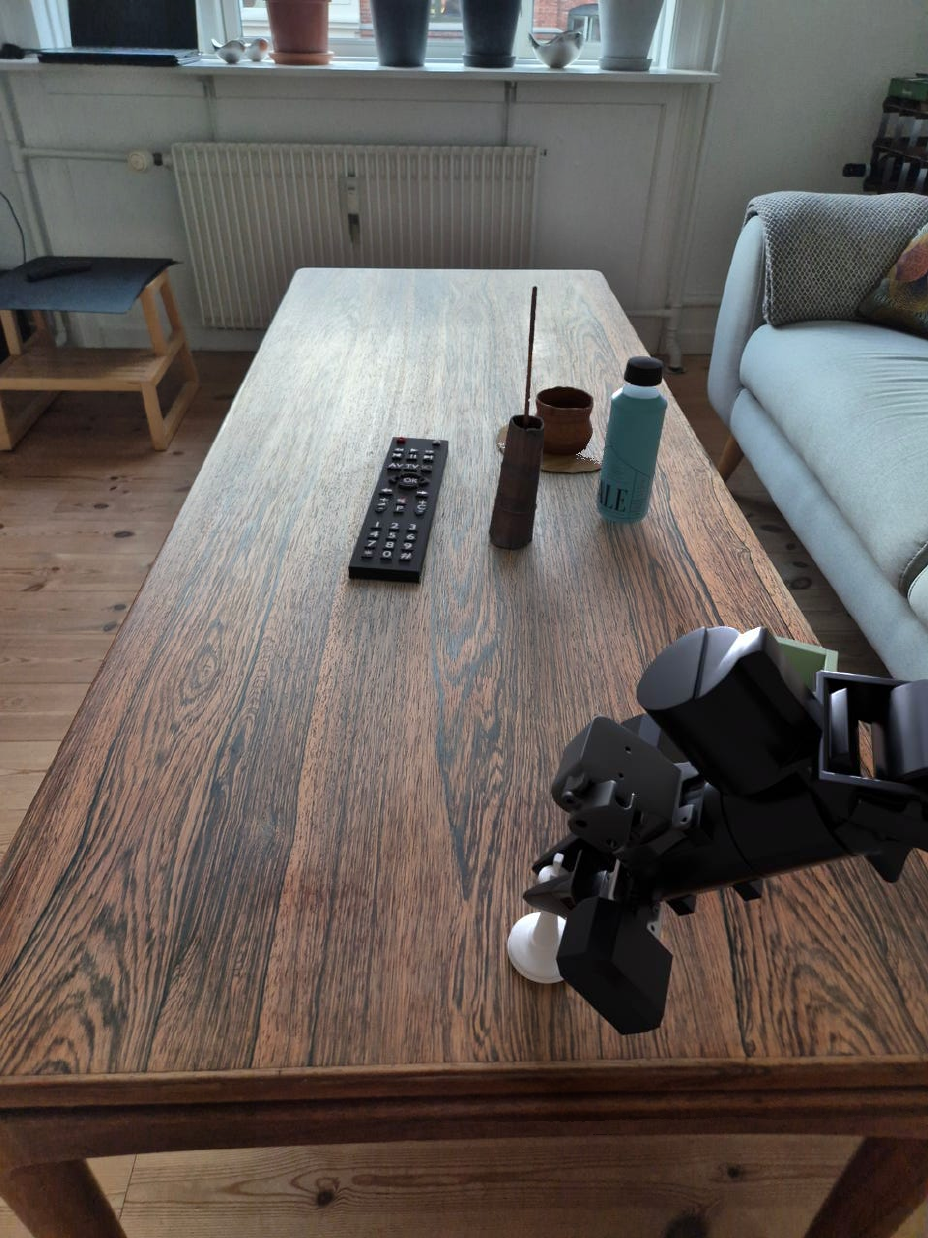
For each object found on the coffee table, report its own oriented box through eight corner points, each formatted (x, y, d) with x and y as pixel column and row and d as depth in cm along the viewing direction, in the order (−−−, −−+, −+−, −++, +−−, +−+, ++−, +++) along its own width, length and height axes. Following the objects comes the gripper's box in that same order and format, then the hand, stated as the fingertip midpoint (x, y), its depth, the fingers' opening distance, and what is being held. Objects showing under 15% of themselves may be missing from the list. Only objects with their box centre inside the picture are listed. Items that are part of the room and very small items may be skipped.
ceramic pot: (635, 473, 112) (644, 424, 107) (503, 474, 110) (506, 424, 106) (608, 416, 126) (614, 370, 121) (490, 416, 125) (493, 370, 120)
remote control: (448, 450, 116) (448, 436, 114) (419, 583, 90) (419, 568, 89) (393, 446, 116) (393, 433, 115) (348, 578, 91) (347, 562, 89)
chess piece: (587, 929, 58) (606, 838, 52) (570, 994, 55) (589, 904, 48) (518, 908, 59) (529, 816, 53) (498, 969, 56) (507, 879, 50)
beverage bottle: (650, 513, 104) (680, 353, 91) (642, 540, 99) (673, 375, 86) (598, 503, 105) (620, 345, 93) (587, 529, 100) (610, 366, 88)
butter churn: (552, 569, 93) (581, 314, 76) (467, 559, 94) (477, 305, 77) (557, 526, 100) (586, 284, 83) (479, 518, 101) (490, 277, 84)
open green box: (824, 688, 79) (838, 651, 76) (817, 746, 73) (833, 709, 70) (735, 664, 81) (746, 628, 78) (722, 719, 75) (733, 681, 72)
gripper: (684, 610, 49) (494, 703, 58) (628, 865, 35) (388, 933, 44) (789, 740, 52) (591, 808, 61) (776, 1023, 38) (522, 1055, 47)
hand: (531, 885), depth 53 cm, fingers closed on chess piece
